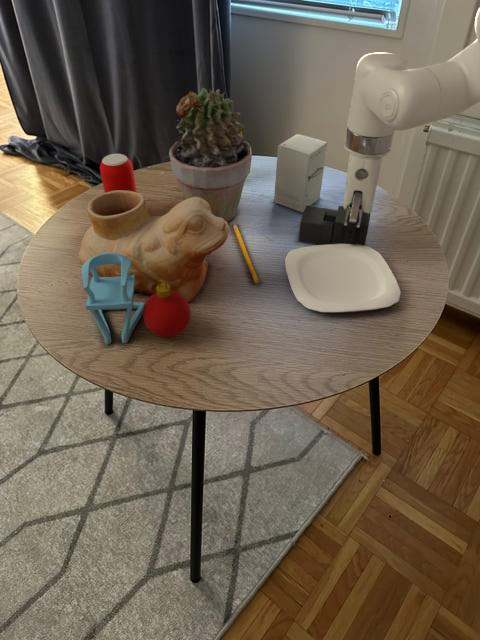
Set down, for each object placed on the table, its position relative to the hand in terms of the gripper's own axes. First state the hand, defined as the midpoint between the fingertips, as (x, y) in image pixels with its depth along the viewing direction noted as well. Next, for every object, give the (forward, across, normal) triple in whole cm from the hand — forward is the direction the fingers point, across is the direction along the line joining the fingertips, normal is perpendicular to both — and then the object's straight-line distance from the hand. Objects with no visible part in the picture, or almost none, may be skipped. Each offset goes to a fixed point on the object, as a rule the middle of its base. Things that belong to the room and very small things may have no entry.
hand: (350, 231), depth 91 cm
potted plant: (+2, +4, +28) cm, 29 cm away
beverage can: (+2, -3, +45) cm, 45 cm away
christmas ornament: (+2, -32, +24) cm, 40 cm away
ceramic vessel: (+2, -20, +31) cm, 37 cm away
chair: (+2, -33, +32) cm, 46 cm away
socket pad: (+2, 0, +6) cm, 7 cm away
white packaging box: (+2, +12, +12) cm, 17 cm away
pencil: (+2, -9, +18) cm, 21 cm away
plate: (+2, -13, 0) cm, 13 cm away
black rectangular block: (+1, 0, 0) cm, 1 cm away
